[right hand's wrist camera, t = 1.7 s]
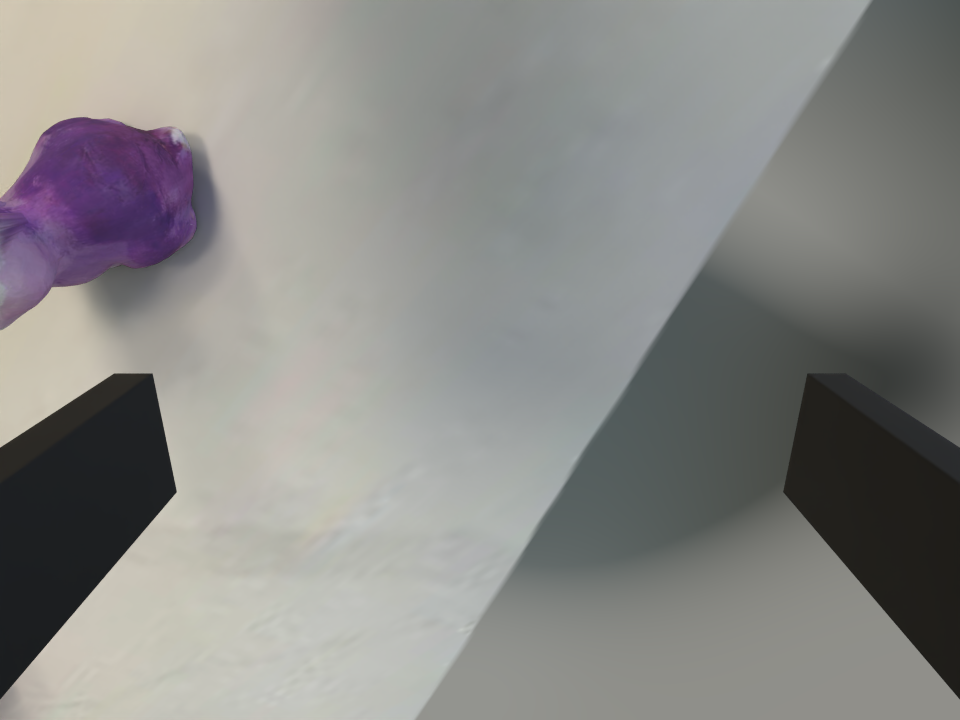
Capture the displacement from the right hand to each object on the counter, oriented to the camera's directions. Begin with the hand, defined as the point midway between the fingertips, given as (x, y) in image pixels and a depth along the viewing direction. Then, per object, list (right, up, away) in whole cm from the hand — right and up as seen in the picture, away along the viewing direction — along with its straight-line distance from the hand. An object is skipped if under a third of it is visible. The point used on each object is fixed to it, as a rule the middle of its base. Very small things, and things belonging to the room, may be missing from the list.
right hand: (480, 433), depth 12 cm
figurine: (-21, +11, +24) cm, 34 cm away
